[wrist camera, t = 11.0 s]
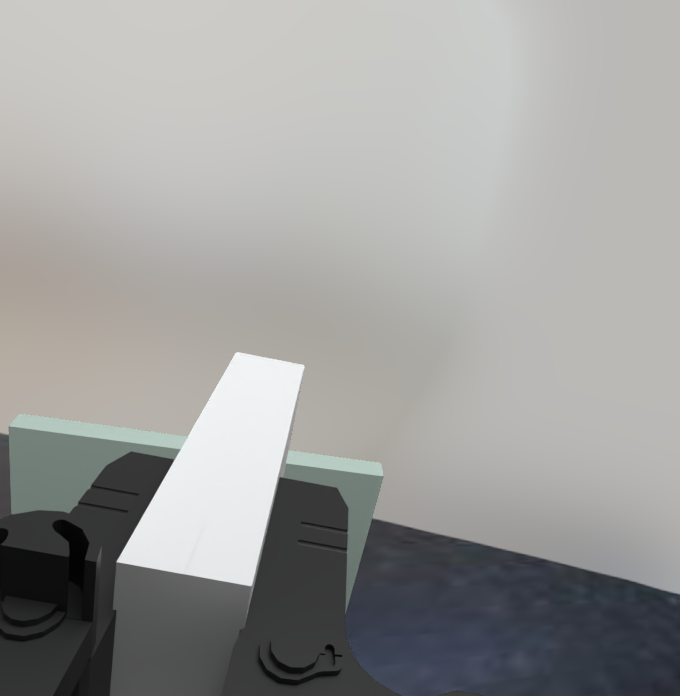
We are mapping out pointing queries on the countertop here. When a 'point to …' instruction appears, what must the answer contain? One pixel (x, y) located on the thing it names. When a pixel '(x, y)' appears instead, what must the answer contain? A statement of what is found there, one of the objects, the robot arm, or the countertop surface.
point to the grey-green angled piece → (114, 442)
